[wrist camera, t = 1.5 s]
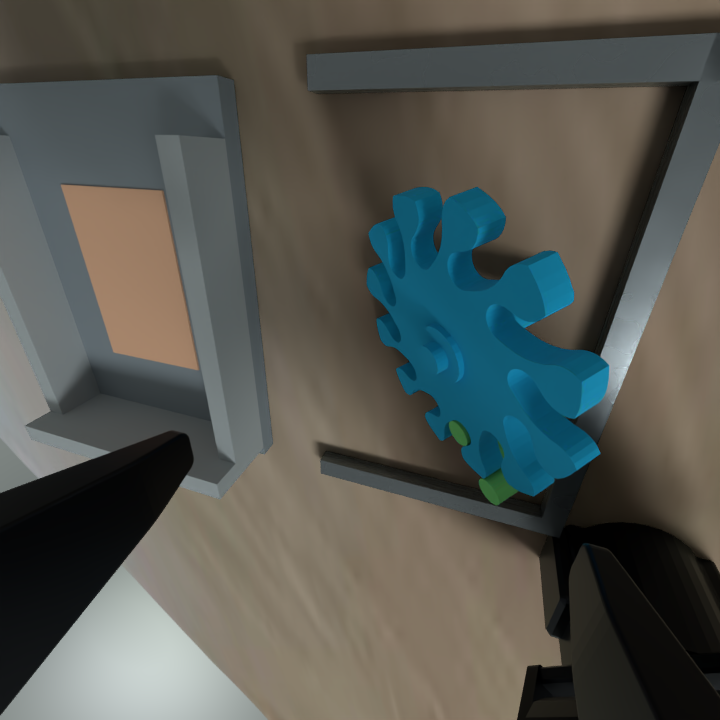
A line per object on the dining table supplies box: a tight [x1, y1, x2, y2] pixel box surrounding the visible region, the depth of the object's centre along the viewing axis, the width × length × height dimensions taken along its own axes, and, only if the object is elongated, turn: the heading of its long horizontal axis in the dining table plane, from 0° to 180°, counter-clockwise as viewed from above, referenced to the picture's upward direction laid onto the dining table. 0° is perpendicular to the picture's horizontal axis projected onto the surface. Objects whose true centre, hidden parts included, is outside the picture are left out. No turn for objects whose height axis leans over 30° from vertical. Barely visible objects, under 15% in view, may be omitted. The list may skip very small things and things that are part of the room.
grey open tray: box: [0, 75, 273, 499], centre depth 19 cm, size 13×18×5 cm
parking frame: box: [307, 33, 720, 538], centre depth 16 cm, size 12×19×1 cm, turn 179°
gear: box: [367, 187, 609, 505], centre depth 13 cm, size 11×6×10 cm
